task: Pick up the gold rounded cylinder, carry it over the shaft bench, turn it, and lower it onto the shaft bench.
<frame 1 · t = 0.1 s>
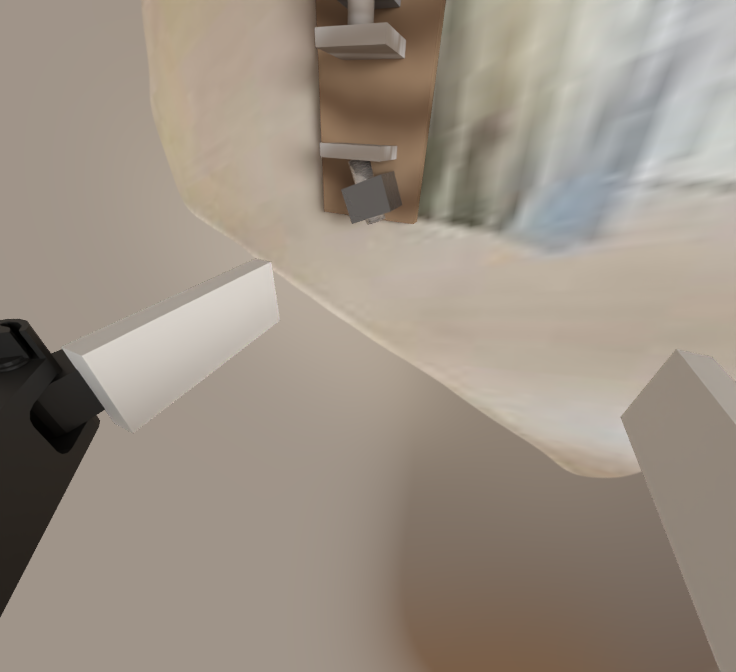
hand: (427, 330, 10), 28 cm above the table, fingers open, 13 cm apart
shaft bench: (376, 105, 31), on the table
grey block with shaft: (374, 156, 34), resting on shaft bench
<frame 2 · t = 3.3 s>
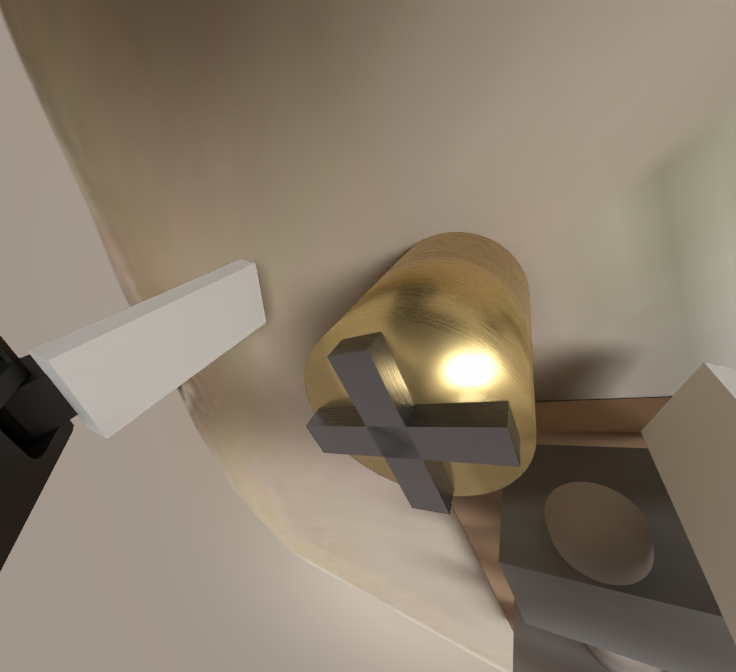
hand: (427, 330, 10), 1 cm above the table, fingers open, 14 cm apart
gold rounded cylinder: (452, 301, 11), on the table
shaft bench: (604, 563, 15), on the table
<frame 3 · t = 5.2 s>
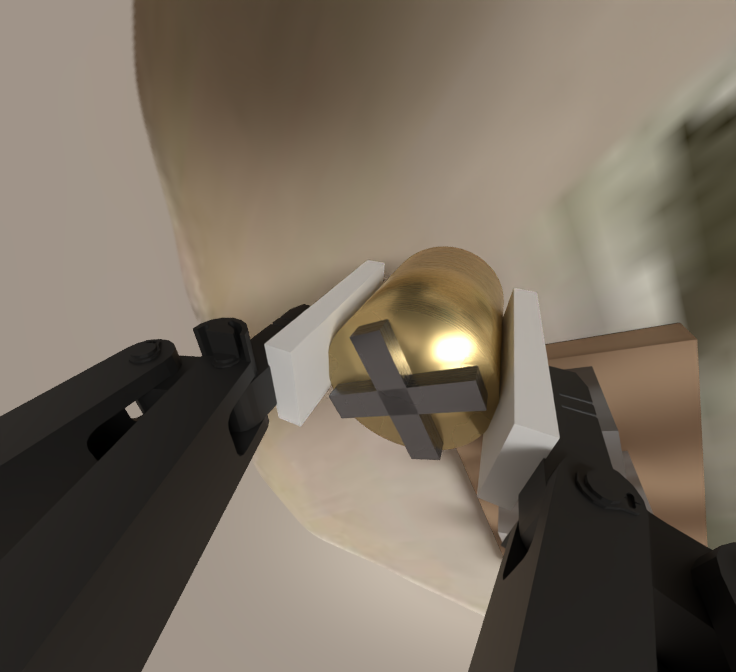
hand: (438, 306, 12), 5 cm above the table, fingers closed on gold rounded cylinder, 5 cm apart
gold rounded cylinder: (442, 303, 13), point 4 cm above the table, touching gripper
shaft bench: (567, 481, 20), on the table
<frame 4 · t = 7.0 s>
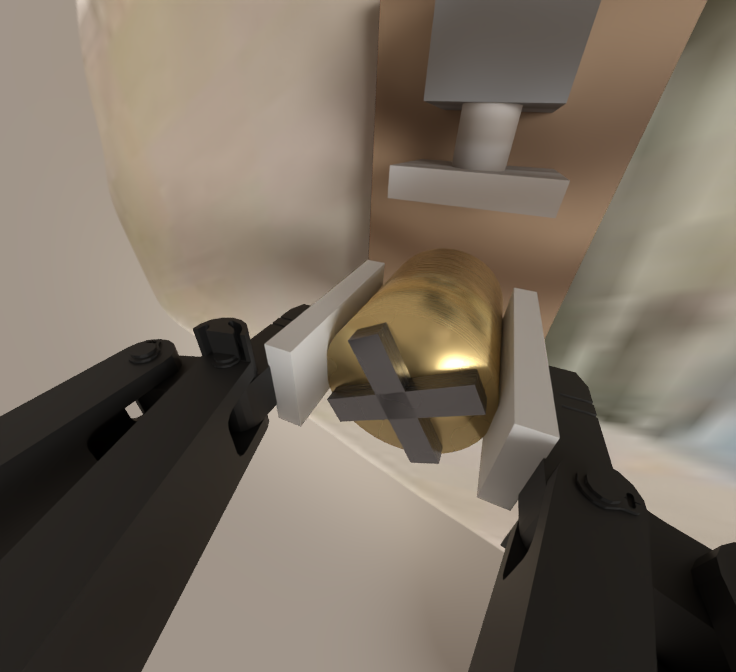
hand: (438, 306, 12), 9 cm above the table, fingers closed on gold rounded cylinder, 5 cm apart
gold rounded cylinder: (441, 304, 13), point 8 cm above the table, touching gripper
shaft bench: (465, 246, 18), on the table
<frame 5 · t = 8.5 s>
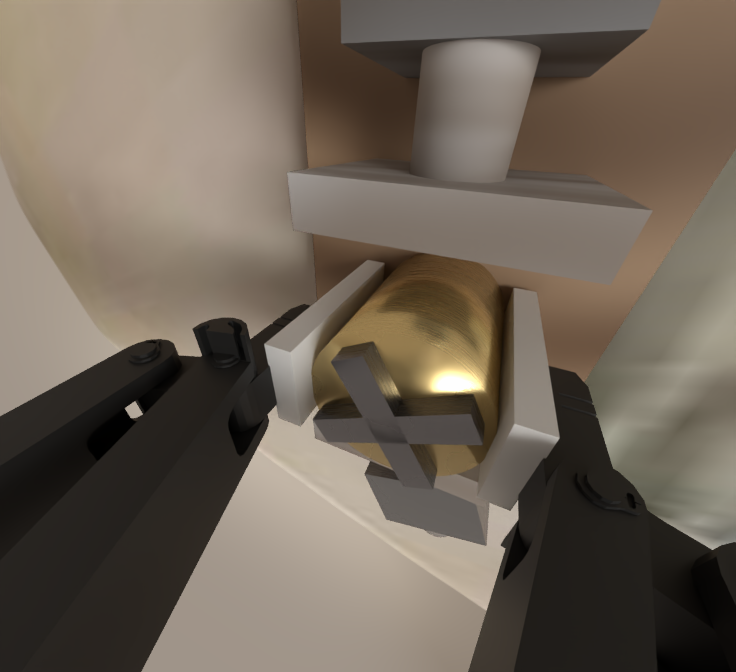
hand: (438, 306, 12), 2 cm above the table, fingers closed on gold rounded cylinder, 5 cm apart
gold rounded cylinder: (438, 309, 12), point 2 cm above the table, touching gripper, shaft bench
shaft bench: (449, 282, 13), on the table
grey block with shaft: (432, 361, 16), resting on shaft bench
when the fingers open (2 cm above the table, at t = 8.9 s): gold rounded cylinder stays where it is, resting on shaft bench.
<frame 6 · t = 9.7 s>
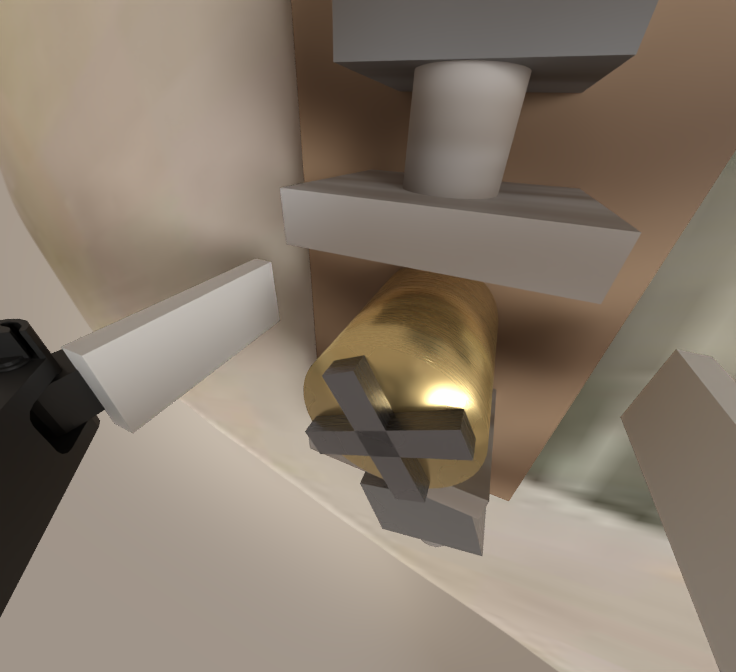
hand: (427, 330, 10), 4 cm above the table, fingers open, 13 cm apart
gold rounded cylinder: (433, 318, 12), point 1 cm above the table, touching shaft bench
shaft bench: (445, 291, 13), on the table
grey block with shaft: (428, 368, 16), resting on shaft bench
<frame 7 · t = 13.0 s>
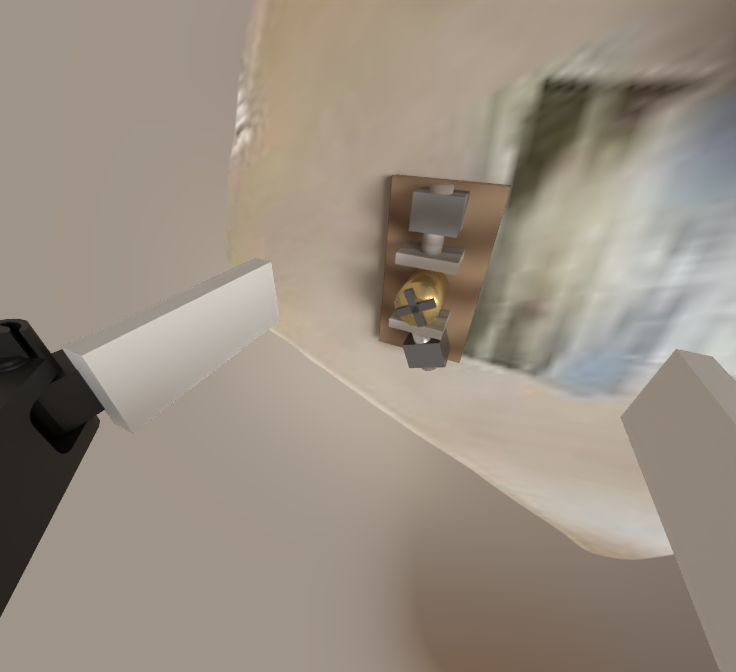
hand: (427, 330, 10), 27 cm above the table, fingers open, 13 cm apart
gold rounded cylinder: (428, 285, 36), point 1 cm above the table, touching shaft bench
shaft bench: (432, 276, 37), on the table
grey block with shaft: (426, 308, 40), resting on shaft bench
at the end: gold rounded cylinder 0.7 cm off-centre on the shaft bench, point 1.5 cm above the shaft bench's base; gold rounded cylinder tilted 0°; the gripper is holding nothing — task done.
